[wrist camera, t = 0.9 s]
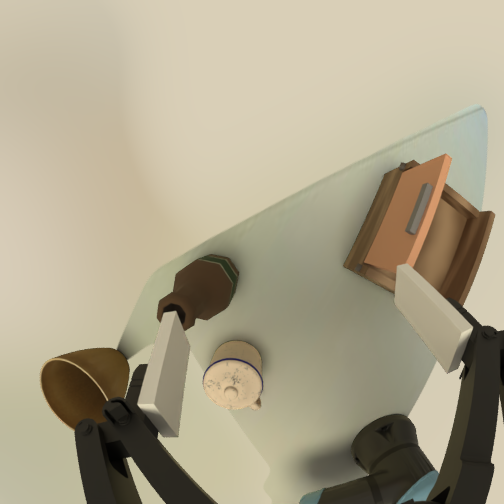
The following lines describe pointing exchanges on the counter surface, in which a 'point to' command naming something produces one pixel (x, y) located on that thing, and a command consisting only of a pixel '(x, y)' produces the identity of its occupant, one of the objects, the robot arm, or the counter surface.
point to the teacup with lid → (235, 376)
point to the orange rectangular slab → (409, 215)
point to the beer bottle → (201, 290)
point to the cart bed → (430, 241)
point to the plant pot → (83, 383)
